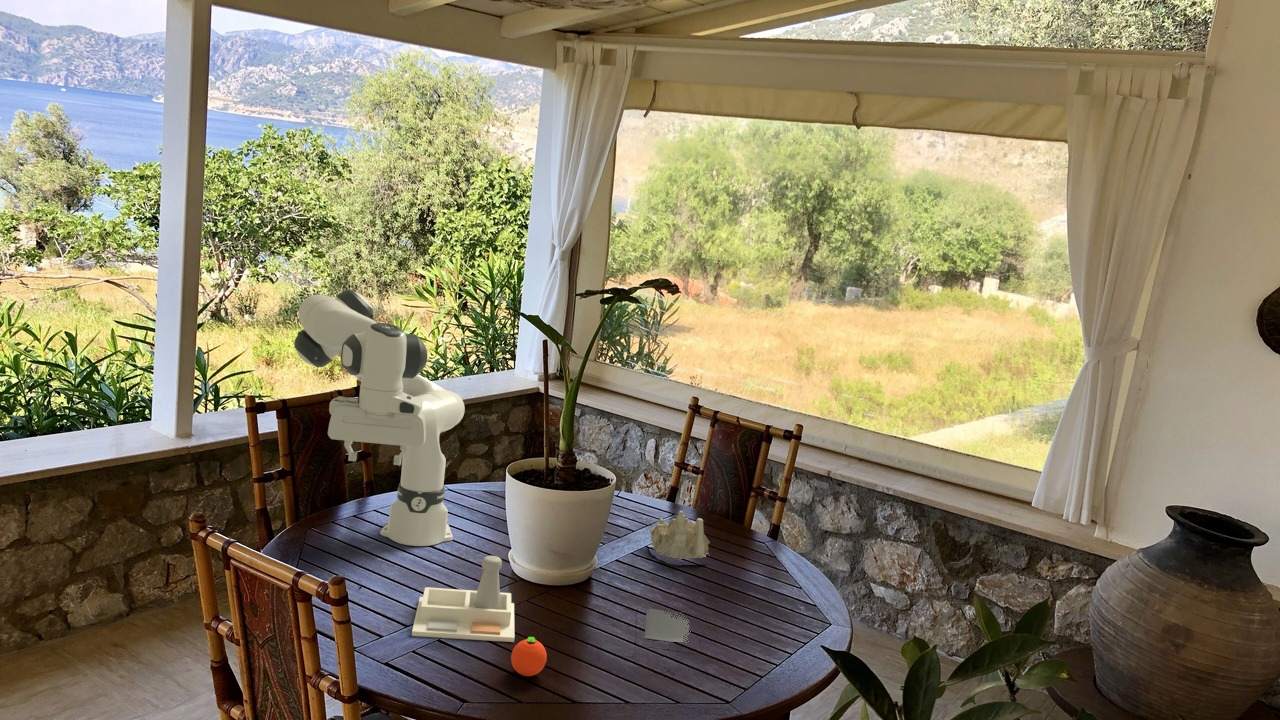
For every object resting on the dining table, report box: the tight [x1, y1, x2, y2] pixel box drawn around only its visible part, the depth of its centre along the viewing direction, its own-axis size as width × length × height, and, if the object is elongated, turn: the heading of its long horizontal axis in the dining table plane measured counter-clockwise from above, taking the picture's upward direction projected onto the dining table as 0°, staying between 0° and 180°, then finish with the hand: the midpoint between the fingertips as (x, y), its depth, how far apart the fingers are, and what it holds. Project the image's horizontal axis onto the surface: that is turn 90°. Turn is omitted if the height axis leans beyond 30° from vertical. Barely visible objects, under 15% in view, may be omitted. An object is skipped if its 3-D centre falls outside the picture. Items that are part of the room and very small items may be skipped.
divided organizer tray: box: [411, 586, 515, 643], centre depth 197 cm, size 17×21×4 cm
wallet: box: [644, 608, 691, 643], centre depth 207 cm, size 20×2×15 cm
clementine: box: [510, 636, 548, 677], centre depth 179 cm, size 8×7×7 cm
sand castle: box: [649, 510, 711, 559], centre depth 255 cm, size 16×16×15 cm
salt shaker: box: [474, 555, 503, 610], centre depth 199 cm, size 6×6×13 cm
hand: (374, 462), depth 197 cm, fingers open, 8 cm apart
